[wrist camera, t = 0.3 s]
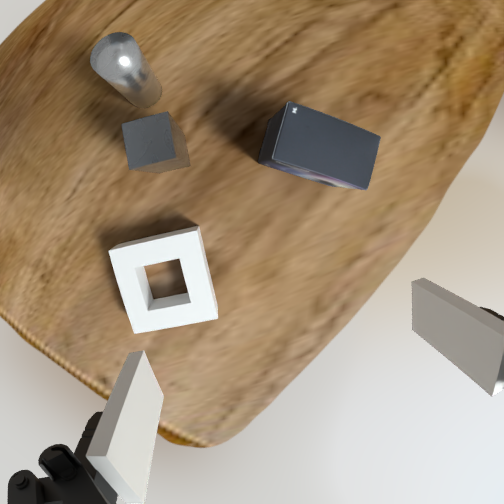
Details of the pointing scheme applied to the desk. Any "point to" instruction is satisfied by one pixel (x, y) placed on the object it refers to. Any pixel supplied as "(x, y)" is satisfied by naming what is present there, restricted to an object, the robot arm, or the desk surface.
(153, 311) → the socket block
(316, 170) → the small box
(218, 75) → the desk surface
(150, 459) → the robot arm
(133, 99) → the round bit
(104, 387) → the desk surface
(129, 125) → the square bit
